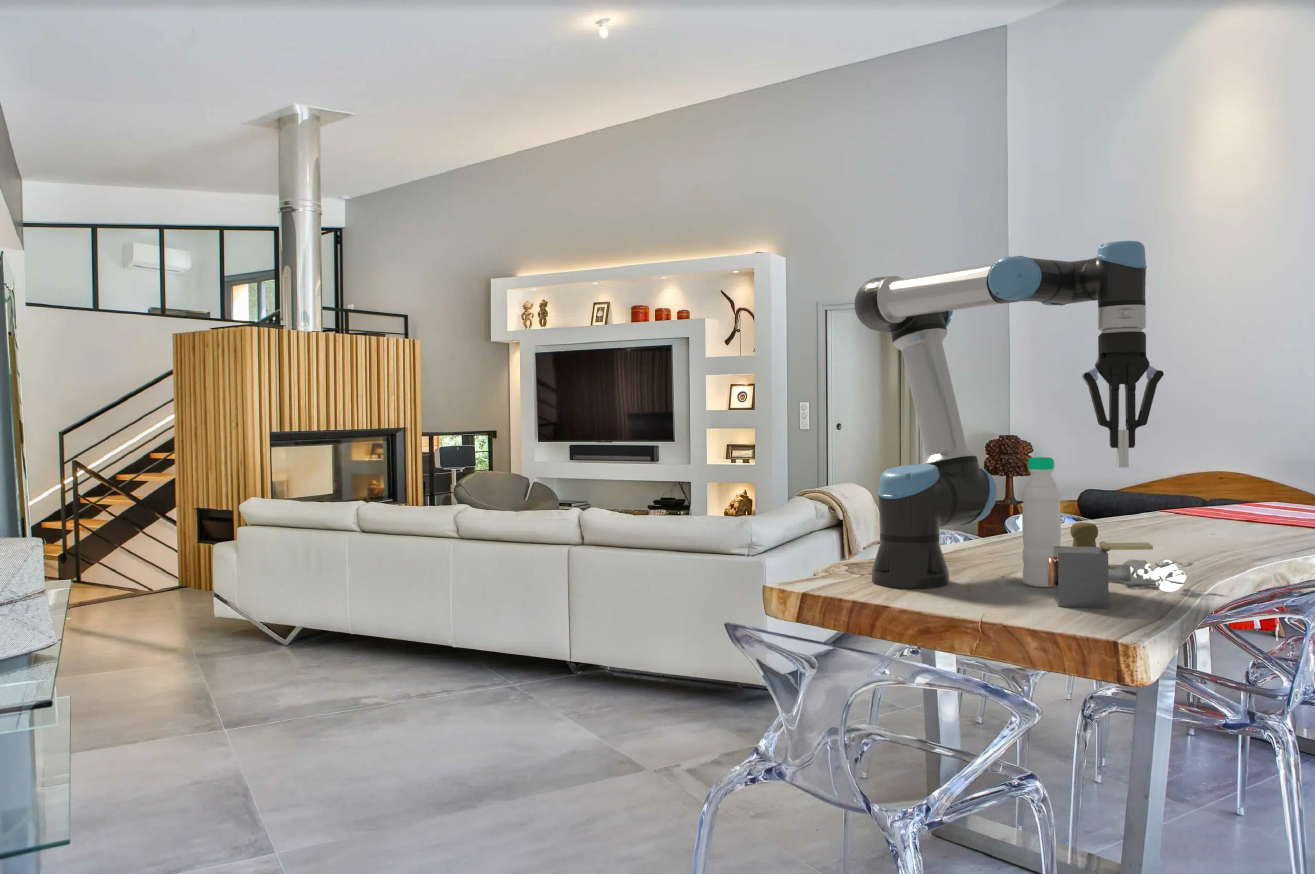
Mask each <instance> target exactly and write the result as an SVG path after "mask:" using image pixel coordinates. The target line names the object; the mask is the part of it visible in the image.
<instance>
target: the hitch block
mask: <svg viewBox="0 0 1315 874" xmlns="http://www.w3.org/2000/svg"><path fill="white" fill-rule="evenodd" d="M1054 557H1056V563H1057V585H1056V586H1054V587H1053V598H1054V601H1055V602H1056V604H1057V606H1058V607H1061V608H1062V607H1063V608H1084V609H1087V608H1088V609H1089V608H1090V609H1109V604H1110V603H1109V597H1110V595H1109V592H1110V591H1109V582H1108V564H1109V553H1108V552H1106V551H1104V550H1103V549H1102V548H1101V547H1100V546H1096V547H1076V546H1073V545H1072V546H1069V545H1068V546H1067V545H1065V546H1064V545H1060V546H1054Z"/></svg>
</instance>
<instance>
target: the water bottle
mask: <svg viewBox="0 0 1315 874" xmlns="http://www.w3.org/2000/svg"><path fill="white" fill-rule="evenodd" d="M1054 468H1055V460H1054V459H1053V458H1052V457H1049V456H1048V457H1046V456H1042V457H1041V456H1037V457H1036V456H1034V457H1030V458H1029V459H1028V460H1027V469H1028V472H1029V473H1030V476H1029V478H1028V480H1027V482H1026V484H1025V486H1024V488H1023V490H1022V493H1021V499H1022V502H1023V503H1022V513H1021V515H1022V516H1021V517H1022V519H1021V521H1022V527H1021V528H1022V531H1021V532H1022V542H1023V549H1022V562H1023V566H1022V582H1023V583H1024V584H1025V585H1026V586H1029V587H1036V588H1054V586H1048V580H1047V558H1048V557H1054V546H1061V541H1062V540H1061V537H1062V535H1061V533H1062V519H1061V503H1060V502H1061V498H1062V497H1061V492H1060V489H1059V488H1058V486H1057V484H1056V481H1055V479H1054V478H1053V476H1052V473H1053V472H1054Z"/></svg>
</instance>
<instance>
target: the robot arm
mask: <svg viewBox="0 0 1315 874" xmlns="http://www.w3.org/2000/svg"><path fill="white" fill-rule="evenodd" d="M1147 267H1148V266H1147V261H1146V248H1145V246H1144V243H1142V242H1140V241H1138V240H1120V241H1119V240H1118V241H1110V242H1105V243H1102V244H1100V245H1099V246H1098V248H1097V254H1096V257H1094V258H1089V259H1081V260H1073V261H1065V260H1057V259H1056V260H1055V259H1045V258H1037V257H1036V258H1035V257H1029V256H1028V257H1027V256H1024V255H1016V256H1015V255H1014V256H1004V257H1002V258H1000V259H999V260H997V262H993V263H987V264H981V265H976V266H969V267H964V268H958V269H954V270H953V269H952V270H948V271H943V272H941V271H940V272H935V273H931V274H925V275H924V274H923V275H920V276H919V275H918V276H913V277H907V278H902V277H901V276H897V275H891V276H880V277H879V276H877V277H874V278H871V279H869V280H867V281H866V282H864V283H863V284H862V285H861V286H860V287H859V289H858V291H857V292H856V294H855V297H854V303H853V305H854V311H855V315H856V317H857V319H858V320H859V321H860V323H861V324H862V325H864V326H865V327H867V328H868V329H869V330H872V331H874V332H875V331H876V332H882V333H883V332H884V333H890V336H891V341H892V346H893V347H894V348H896V349H897V350H899V351H901V352H902V357H903V362H904V366H905V367H904V368H905V370H906V375H907V379H908V385H909V389H910V393H911V397H912V400H913V401H912V402H913V407H914V411H915V415H916V419H917V423H918V428H919V429H918V430H919V433H920V436H921V442H922V446H923V450H924V455H925V459H924V460H923V462H922V463H921V464H920V463H919V464H918V463H916V464H909V465H905V464H904V465H898V466H894V467H891V468H888V469H886V470H884V471H882V473H881V474H880V476H879V486H878V487H879V488H878V491H877V492H878V506H879V507H878V509H879V511H878V512H879V513H878V514H879V546H878V550H877V553H876V556H875V559H874V562H873V565H872V569H871V581H872V583H874V584H876V585H879V586H885V587H891V588H898V589H899V588H902V589H930V588H939V587H944V586H946V585H949V584H950V573H949V572H950V571H949V569H948V565H947V562H946V560H945V557H944V554H943V550H942V548H941V544H940V527H949V526H957V525H960V526H966V525H969V524H971V523H977V522H981V521H982V520H984V519H985V518H986V517H987V516H989V514H990V513H991V512H992V509H993V508H994V506H995V504H996V500H997V485H996V482H995V479H994V477H993V476H992V474H991V473H989V472H988V471H987V470H986V469H985V468H982V467H980V464H979V460H978V456H977V454H976V453H974V452H973V451H971V450H969V449H968V447H967V442H966V438H965V434H964V429H963V426H962V421H961V418H960V417H961V416H960V412H959V408H958V403H957V400H956V396H955V392H954V386H953V383H952V379H951V375H950V370H949V366H948V362H947V356H946V353H945V349H944V344H943V341H944V340H945V338H946V336H947V335H948V329H947V327H948V326H949V324H950V323H951V320H952V319H951V317H952V316H953V312H954V311H957V310H965V309H970V308H977V307H978V308H979V307H986V306H995V305H999V304H1000V305H1001V304H1003V305H1004V304H1011V303H1018V302H1039V303H1041V304H1042V305H1045V306H1066V305H1069V304H1075V303H1076V304H1078V303H1085V302H1091V301H1095V302H1096V301H1097V315H1098V316H1097V319H1098V320H1097V329H1098V331H1100V332H1101V333H1099V334H1098V335H1097V338H1098V340H1097V341H1098V342H1097V344H1098V345H1097V346H1098V347H1097V349H1098V350H1097V351H1098V352H1097V353H1098V354H1097V355H1098V356H1097V360H1096V362H1095V364H1094V367H1092V368H1091V369H1090V370H1088V371H1087V372H1083V373H1082V374H1081V378H1082V379H1083V381H1084V382H1085V383H1086V385H1087V386H1088V390H1089V394H1090V398H1091V402H1092V405H1093V408H1094V413H1095V416H1096V420H1097V424H1098V425H1099V426H1101V427H1104V428H1107V429H1108V431H1109V446H1110V448H1111V449H1115V450H1116V452H1115V454H1116V455H1115V457H1116V458H1115V459H1116V460H1115V463H1116V464H1115V467H1117V468H1129V465H1130V464H1129V458H1130V456H1129V449H1135V447H1136V429H1138V428H1140V427H1143V426H1146V425H1147V424H1148V421H1149V416H1150V412H1151V409H1152V404H1153V401H1154V397H1155V394H1156V390H1157V386H1158V383H1159V382H1160V381H1161V380H1162V378H1163V377H1164V375H1165V374H1164V371H1163V370H1159V369H1156V368H1155V367H1153V366H1151V365H1150V363H1151V362H1150V361H1149V359H1148V358H1147V333H1146V332H1145V331H1143V330H1144V329H1146V327H1147V312H1146V311H1147V306H1146V304H1147V303H1146V286H1147V285H1146V277H1147V275H1146V274H1147ZM1145 373H1146V377H1145V378H1146V379H1147V382H1146V384H1145V389H1144V393H1143V396H1142V401H1141V405H1140V409H1139V412H1138V416H1137V415H1136V413H1137V412H1136V390H1137V389H1136V388H1137V386H1136V385H1137V383H1138V382H1139V381H1140V380H1141V378H1142V377H1143V376H1144V375H1145ZM1098 374H1099V375H1100V376H1101V378H1102V379H1103V380H1104V381H1105V382H1106V383H1107V384H1108V397H1109V398H1108V419H1107V415H1106V412H1105V411H1106V410H1105V407H1104V404H1103V400H1102V396H1101V393H1100V389H1099V385H1098V383H1097V381H1098V380H1099V376H1098ZM1121 385H1124V393H1125V395H1124V396H1125V397H1124V398H1125V399H1124V402H1125V404H1124V405H1125V407H1124V408H1125V429H1119V427H1120V416H1119V415H1120V386H1121ZM1136 416H1137V419H1136Z"/></svg>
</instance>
